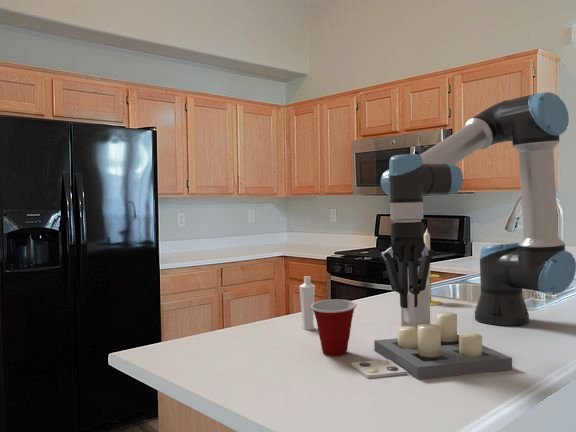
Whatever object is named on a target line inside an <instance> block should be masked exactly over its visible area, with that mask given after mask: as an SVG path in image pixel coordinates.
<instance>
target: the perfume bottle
mask: <svg viewBox="0 0 576 432" xmlns="http://www.w3.org/2000/svg"><path fill="white" fill-rule="evenodd" d="M298 288H299V298H300V310H301V319H302V320H301V323H302V324H301V329H302V330H304V331H306V330H307V331H308V330H311V331H312V330H314V329H315V325H314V316H315V314H314V311H313V309H312V308H311V305H312V304H313V303H315V292H316V285H314V284H313V283H312V282H311V276H310V275H308V276H307V275H305V276H303V283H302V284H301V285H299V287H298Z"/></svg>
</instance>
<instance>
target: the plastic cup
mask: <svg viewBox="0 0 576 432" xmlns="http://www.w3.org/2000/svg"><path fill="white" fill-rule="evenodd" d="M356 306H357V304H356V302H355V301H352V300H347V299H337V298H336V299H325V300H319V301H316V302H314V303H313V304H312V305H311V308H312V309H313V311H314V316H315V317H314V318H315V319H316V320H315V321H316V325H317V330H318V335H319V340H320V345H321V350H322V351H321V352H322V354H323V355H326V356H331V357H337V356H338V357H340V356H344V355H346V354H347V351H348V348H349V346H348V345H349V340H350V335H351V327H352V322H353V316H354V311H355V308H356Z"/></svg>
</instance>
